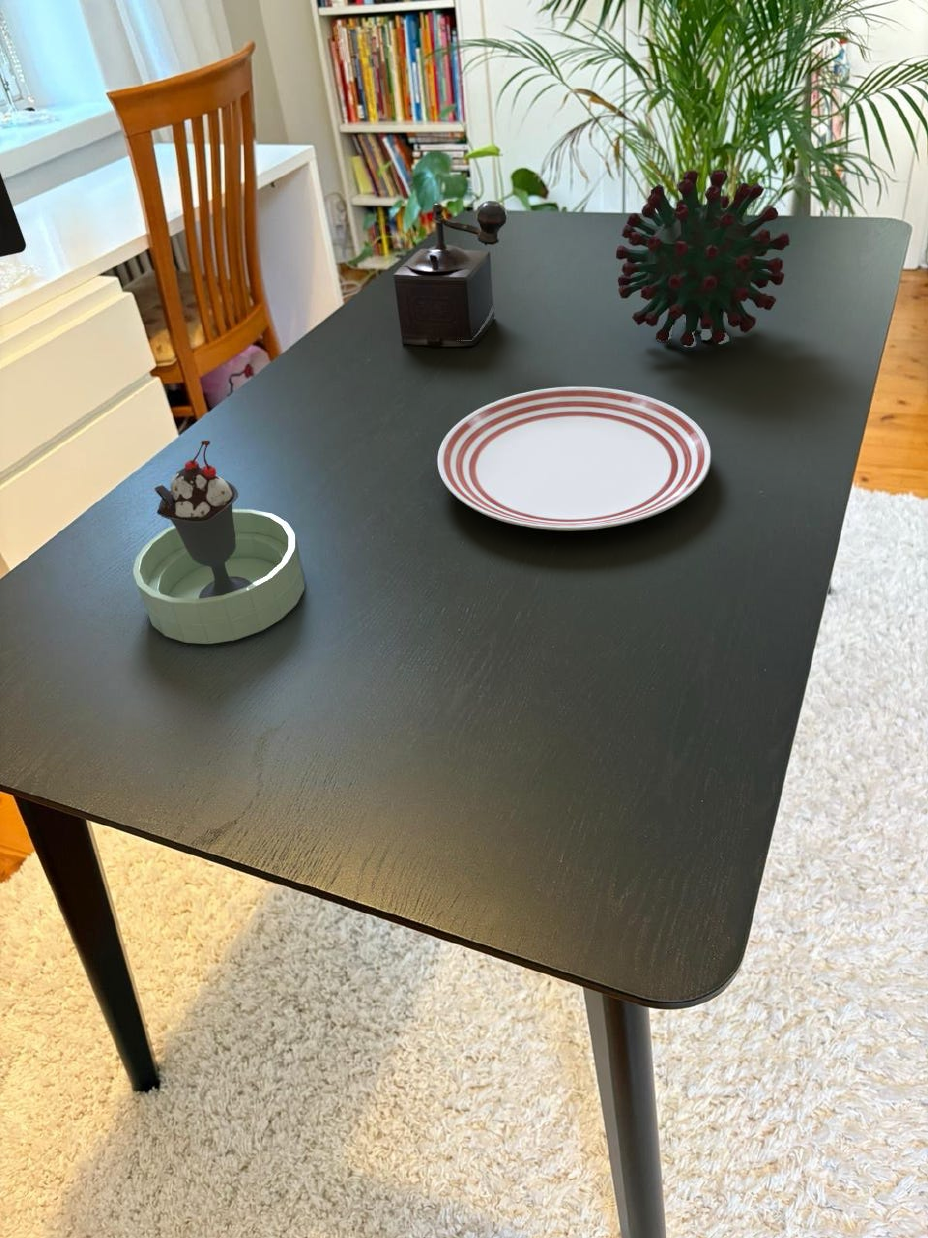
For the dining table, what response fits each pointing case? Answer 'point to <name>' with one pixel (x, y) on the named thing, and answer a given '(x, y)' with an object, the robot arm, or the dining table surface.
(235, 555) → the bowl
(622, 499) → the dinner plate
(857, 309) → the dining table surface
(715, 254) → the virus model
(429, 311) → the coffee grinder
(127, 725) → the dining table surface
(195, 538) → the sundae
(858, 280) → the dining table surface
